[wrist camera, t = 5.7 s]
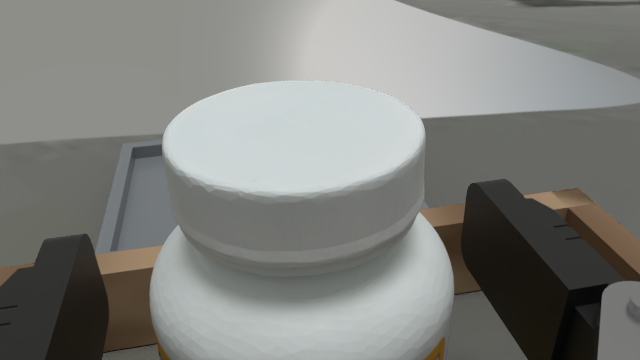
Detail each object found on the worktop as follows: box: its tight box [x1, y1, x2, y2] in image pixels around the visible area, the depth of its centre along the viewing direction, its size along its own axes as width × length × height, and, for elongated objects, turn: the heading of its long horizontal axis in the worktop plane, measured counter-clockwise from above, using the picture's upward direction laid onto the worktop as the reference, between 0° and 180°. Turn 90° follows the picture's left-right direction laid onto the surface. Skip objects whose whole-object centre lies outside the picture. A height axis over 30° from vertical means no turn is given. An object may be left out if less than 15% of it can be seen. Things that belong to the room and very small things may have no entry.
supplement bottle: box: [149, 80, 454, 360], centre depth 11 cm, size 5×5×10 cm
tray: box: [95, 140, 429, 255], centre depth 23 cm, size 12×9×2 cm
